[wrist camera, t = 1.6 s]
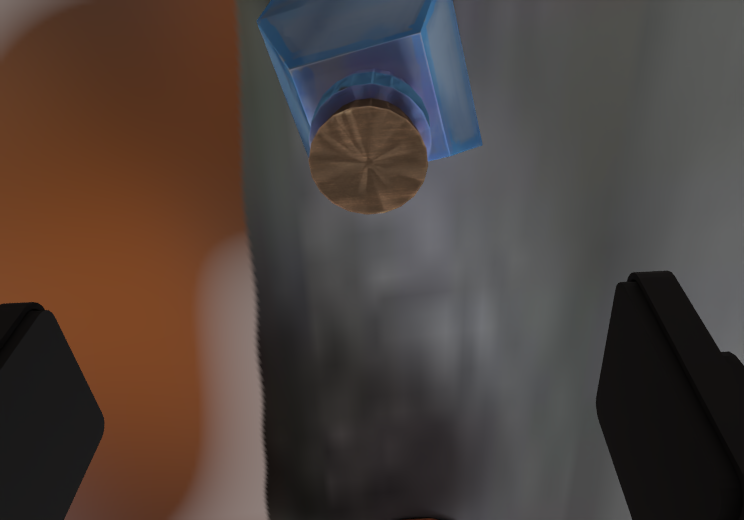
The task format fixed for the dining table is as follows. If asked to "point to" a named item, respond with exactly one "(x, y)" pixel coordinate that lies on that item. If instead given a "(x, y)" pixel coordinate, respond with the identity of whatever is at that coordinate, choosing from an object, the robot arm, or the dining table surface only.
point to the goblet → (421, 519)
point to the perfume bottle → (372, 92)
